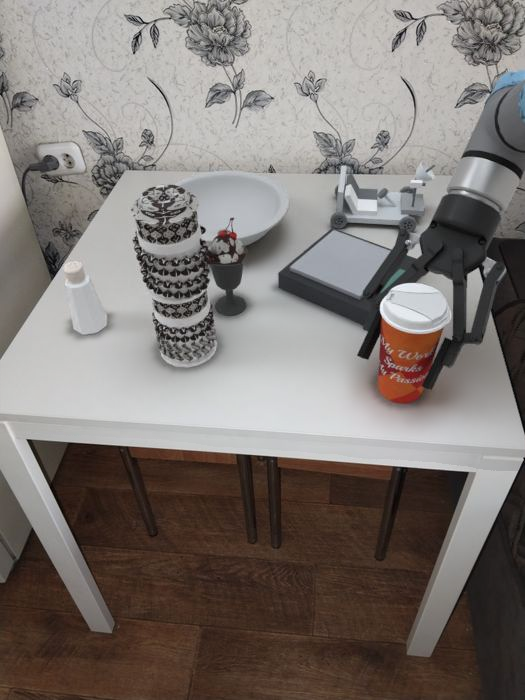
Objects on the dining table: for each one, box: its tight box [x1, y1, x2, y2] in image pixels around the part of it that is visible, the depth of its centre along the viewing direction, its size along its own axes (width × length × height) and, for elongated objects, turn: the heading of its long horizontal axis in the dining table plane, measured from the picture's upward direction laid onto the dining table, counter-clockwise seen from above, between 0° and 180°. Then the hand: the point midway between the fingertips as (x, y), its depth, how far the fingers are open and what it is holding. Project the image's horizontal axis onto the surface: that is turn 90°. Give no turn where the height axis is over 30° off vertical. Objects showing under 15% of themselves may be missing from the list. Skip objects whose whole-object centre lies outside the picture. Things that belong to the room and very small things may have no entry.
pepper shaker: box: [62, 260, 108, 336], centre depth 88 cm, size 5×5×11 cm
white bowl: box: [171, 169, 290, 248], centre depth 106 cm, size 24×24×7 cm
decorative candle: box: [130, 183, 218, 368], centre depth 78 cm, size 9×9×25 cm
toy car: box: [330, 160, 436, 233], centre depth 108 cm, size 18×10×12 cm
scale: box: [277, 227, 417, 326], centre depth 96 cm, size 17×16×4 cm
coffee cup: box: [377, 282, 453, 404], centre depth 75 cm, size 8×8×15 cm
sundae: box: [206, 218, 249, 316], centre depth 88 cm, size 7×7×15 cm
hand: (393, 372), depth 74 cm, fingers closed on coffee cup, 8 cm apart
